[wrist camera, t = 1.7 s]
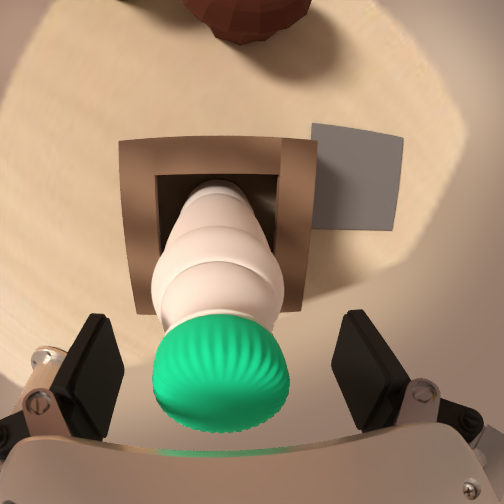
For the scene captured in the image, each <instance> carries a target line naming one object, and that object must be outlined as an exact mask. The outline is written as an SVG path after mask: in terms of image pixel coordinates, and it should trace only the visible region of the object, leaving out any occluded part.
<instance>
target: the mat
mask: <svg viewBox="0 0 504 504" xmlns="http://www.w3.org/2000/svg"><path fill="white" fill-rule="evenodd" d="M311 140H316V141H318V147H317V163H316V177H315V190H314V202H313V213H312V223H311V229H359V230H392V227H393V221H394V215H395V209H396V202H397V195H398V187H399V179H400V170H401V160H402V149H403V138H402V137H397V136H392V135H387V134H382V133H377V132H372V131H366V130H360V129H354V128H347V127H340V126H333V125H325V124H317V123H312V132H311Z"/></svg>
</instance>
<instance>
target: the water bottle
mask: <svg viewBox="0 0 504 504" xmlns="http://www.w3.org/2000/svg"><path fill="white" fill-rule="evenodd" d="M151 294H152V301H153V305H154V308H155V311H156V314H157V316H158V318H159V320H160V322H161V323H162V325H163V328H164V331H165V335H164V337H163V339H162V341H161V343H160V345H159V347H158V349H157V352H156V355H155V360H154V365H153V376H152V382H153V391H154V394H155V396H156V400H157V402H158V403H159V405H160V406H161V408H162V410H163V411H164V412H166V413H167V414H168V416H169V417H171V418H173V419H174V420H175V421H176V422H178V423H181V424H183V426H185V427H190V428H192V429H194V430H201V431H202V432H206V431H209V432H211V433H215V432H218V433H224V432H228V433H232V432H234V431H236V432H241V431H242V430H243V429H246V430H248V429H250V428H251V427H255V426H258V425H259V424H260V423H264V422H266V421H267V420H268V419H269V418H271V417H273V416H274V414H275V413H277V412H279V410H280V409H281V407H282V406H283V405H284V403H285V401H286V398H287V396H288V394H289V386H290V379H289V373H288V369H287V365H286V362H285V358H284V356H283V353H282V351H281V349H280V346H279V344H278V343H277V341H276V340H275V338H274V336H273V334H272V330H273V327H274V323H275V321H276V320H277V318H278V315H279V313H280V310H281V307H282V304H283V298H284V281H283V276H282V272H281V269H280V266H279V264H278V262H277V260H276V258H275V257H274V255H273V254H272V252H271V251H270V248H269V245H268V242H267V240H266V237H265V235H264V233H263V231H262V228H261V226H260V224H259V223H258V221H257V219H256V217H255V215H254V212H253V209H252V207H251V206H250V203H249V201H248V198H247V196H246V195H245V193H244V192H243V191H242V190H241V189H240V188H239V187H238V186H237V185H235V184H233V183H232V182H229V181H226V180H220V179H215V180H209V181H206V182H203V183H201V184H200V185H198V186H197V187H195V188H194V189H193V190H192V191H191V193H190V194H189V196H188V197H187V199H186V202H185V204H184V206H183V208H182V210H181V213H180V216H179V218H178V220H177V221H176V223H175V225H174V227H173V229H172V231H171V234H170V236H169V238H168V241H167V244H166V247H165V250H164V252H163V253H162V255H161V257H160V258H159V260H158V262H157V264H156V267H155V269H154V273H153V277H152V284H151Z"/></svg>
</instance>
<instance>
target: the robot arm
mask: <svg viewBox="0 0 504 504" xmlns="http://www.w3.org/2000/svg"><path fill="white" fill-rule="evenodd" d="M31 364H32V368H33V370H34V371H33V373H32V374H31V376H30V378H29V380H28V382H27V383H26V385H25V387H24V389H23V391H22V393H21V395H20V397H19V399H18V401H17V403H16V405H15V407H14V409H13V411H12V413H11V415H10V416H8V417H5V418H3V419H1V420H0V504H499V502H500V500H501V498H502V496H503V494H504V434H502V433H501V432H499V431H498V430H496V429H495V428H493V427H492V426H490V425H488V424H487V426H484V422H483V418H482V416H481V415H480V414H479V413H478V412H477V411H476V410H474V409H472V408H468V407H466V406H463V405H459V404H457V403H453V402H451V401H448V400H445V399H442V398H440V390H439V388H438V387H437V385H436V384H435V383H433V382H432V381H430V380H428V379H423V378H418V379H414V380H412V381H411V379H410V378H409V376H408V374H407V373H406V371H405V370H404V368H403V367H402V365H401V364H400V362H399V361H398V359H397V358H396V356H395V355H394V353H393V352H392V350H391V349H390V347H389V346H388V345H387V343H386V342H385V340H384V339H383V337H382V336H381V334H380V333H379V332H378V330H377V329H376V327H375V326H374V324H373V323H372V322H371V320H370V319H369V317H368V316H367V315H366V313H365V312H364V311H363V310H362V309H360V310H350V311H348V312H347V314H345V315H344V316H343V320H342V324H341V328H340V332H339V336H338V340H337V344H336V347H335V351H334V354H333V358H332V362H331V367H332V370H333V373H334V375H335V377H336V380H337V382H338V384H339V387H340V389H341V391H342V394H343V396H344V398H345V401H346V403H347V406H348V408H349V410H350V412H351V415H352V418H353V420H354V422H355V425H356V427H357V428H358V430H361V431H362V433H361V434H358V435H353V436H348V437H343V438H338V439H333V440H328V441H323V442H316V443H310V444H303V445H296V446H288V447H279V448H270V449H257V450H240V451H183V450H166V449H154V448H143V447H135V446H128V445H119V444H113V443H107V442H102V439H103V438H106V436H107V434H108V430H109V425H110V422H111V418H112V414H113V411H114V407H115V403H116V399H117V396H118V393H119V389H120V386H121V383H122V379H123V376H124V364H123V361H122V358H121V355H120V352H119V349H118V346H117V343H116V339H115V336H114V332H113V329H112V325H111V322H110V319H109V318H106V316H105V315H104V314H94V313H92V314H90V315H89V317H88V319H87V320H86V322H85V324H84V325H83V327H82V329H81V331H80V332H79V334H78V336H77V338H76V340H75V341H74V343H73V345H72V346H71V347H70V349H69V351H68V353H65V352H63V351H61V350H59V349H56V348H53V347H40V348H38V349H36V350H35V352H34V353H33V355H32V357H31Z"/></svg>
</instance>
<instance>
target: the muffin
mask: <svg viewBox="0 0 504 504" xmlns="http://www.w3.org/2000/svg"><path fill="white" fill-rule="evenodd" d="M311 1H312V0H184V4H185V6H186V7H187V8H188V9H189V10H190V11H191V12H192V13H193V14H194V15H195V16H196V17H197V18H198V19H199V20H200V21H201V22H204V23H205V24H206V25H207V26H208V27H209V28H210V29H211V31H212V32H213V34H214V36H215V37H216V38H221V39H225V40H229V41H231V42H234V43H236V44H238V45H242V44H246V43H249V42H255V41H265V40H267V39H268V38H269V37H271V36H272V35H273V34H275V33H276V32H277V31H279V30H281V29H286V28H288V27H290V26H291V25H292V24H294V23H295V22H296V21H298V20H299V19H301V18H302V17H303V16H305V15H306V14H307V12H308V9H309V6H310V4H311Z"/></svg>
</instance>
